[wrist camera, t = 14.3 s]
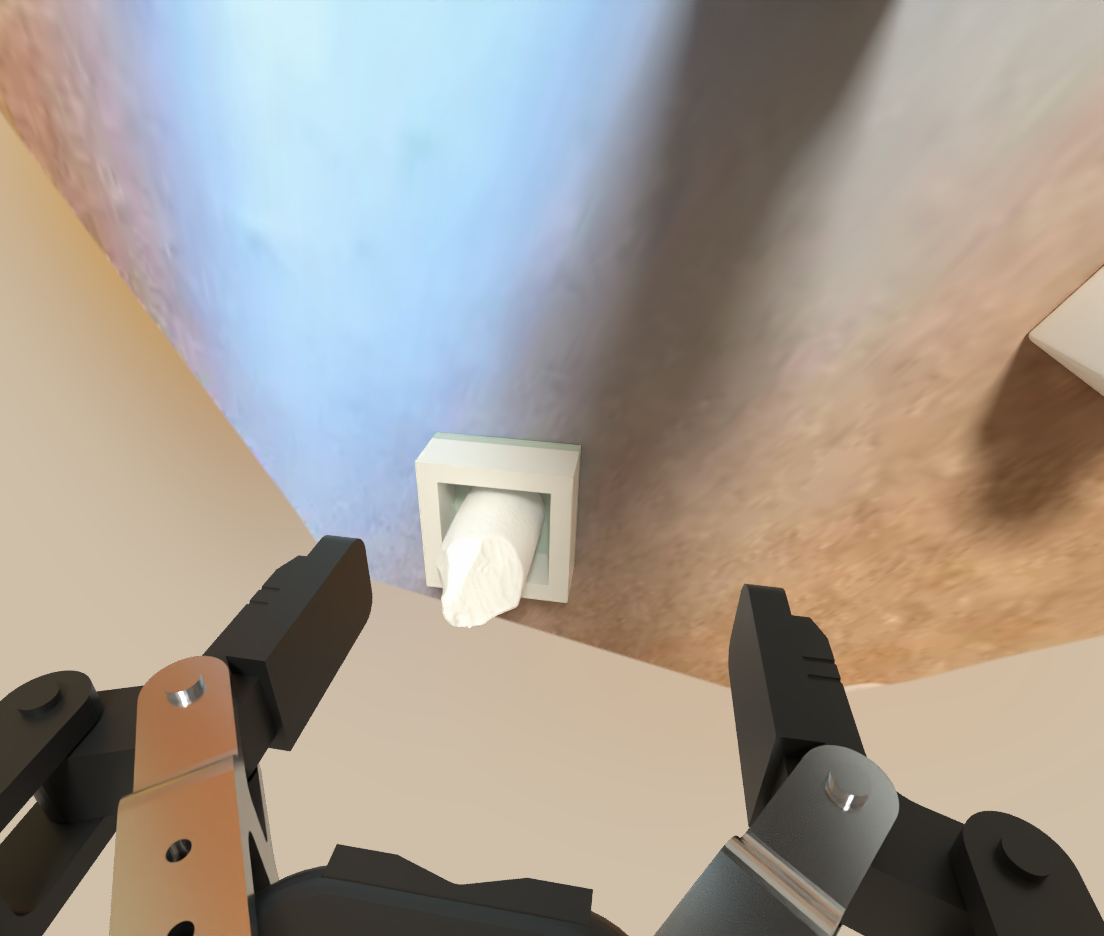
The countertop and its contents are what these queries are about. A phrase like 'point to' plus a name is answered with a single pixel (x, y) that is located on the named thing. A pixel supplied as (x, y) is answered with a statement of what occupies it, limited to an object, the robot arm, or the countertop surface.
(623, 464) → the countertop surface
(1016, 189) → the countertop surface
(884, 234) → the countertop surface
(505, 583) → the roll
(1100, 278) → the medicine bottle
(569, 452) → the socket
